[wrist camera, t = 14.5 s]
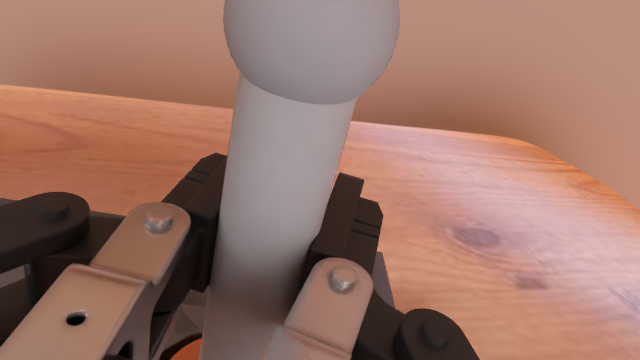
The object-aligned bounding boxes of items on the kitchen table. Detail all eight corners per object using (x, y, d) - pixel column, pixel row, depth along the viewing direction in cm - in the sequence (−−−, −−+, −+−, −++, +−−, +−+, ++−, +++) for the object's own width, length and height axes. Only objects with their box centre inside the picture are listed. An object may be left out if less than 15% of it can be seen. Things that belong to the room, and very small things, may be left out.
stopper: (129, 530, 13) (154, -98, 6) (164, 386, 17) (210, -113, 9) (288, 537, 14) (513, -13, 6) (289, 398, 18) (430, -59, 10)
